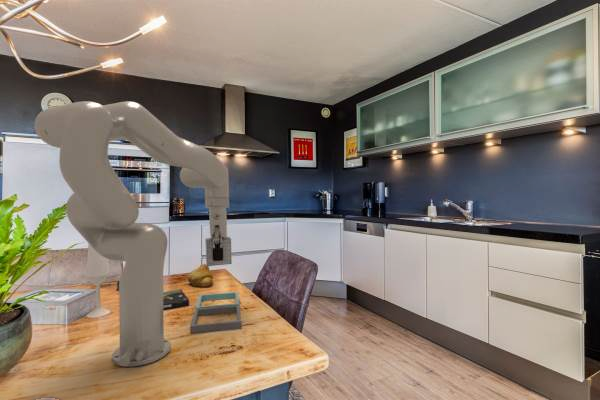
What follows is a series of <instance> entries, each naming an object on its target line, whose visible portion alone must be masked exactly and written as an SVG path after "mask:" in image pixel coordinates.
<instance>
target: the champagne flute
mask: <svg viewBox="0 0 600 400" xmlns="http://www.w3.org/2000/svg"><path fill="white" fill-rule="evenodd" d="M87 248H88V249H87V258H86V266H85V267H86V269H85V278H86V280H88V281H89V282H90V283H92V284H94V285H95V298H96V299H95V305H96V306H95V308H94V309H93V310H92V311H90V312H89V313H87V314H86V315H85V317H86V318H90V319H91V318H93V319H95V318H101V317H104V316H107V315H108V314H110V313H111V310H109V309H105V308H103V307H101V284H102V283H104V282H105V281H106V280H107V279H108V277H109V276H110V274H111V270H110V261H109V260H110V259H107V258H105V257H103V256H101V255H100V254H99V253H98V252H97V251H96V250H95V249H94V248H93V247H92V246H91V245H90V244H89V243H88V246H87Z"/></svg>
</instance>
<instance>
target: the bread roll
mask: <svg viewBox="0 0 600 400" xmlns="http://www.w3.org/2000/svg"><path fill="white" fill-rule="evenodd" d="M209 267H210V266H207V264H205V263H203V264H201V265H200V266H198V267H197V269H194V270H192V271H191V272H190V273H189V274H188V275H187V276H188V277H187V280H188V283H189V284H192V285H193V286H194V287H201V288H203V287H204V288H205V287H210V286H211V285H212V284H213V282H214V281H213V278H214V277H213V274H212V271H211V270H210V268H209Z"/></svg>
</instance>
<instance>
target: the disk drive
mask: <svg viewBox="0 0 600 400" xmlns="http://www.w3.org/2000/svg"><path fill="white" fill-rule="evenodd" d="M189 306H190V300H189V298H188V297H187V296H186V294H185V292H184V291H183V290H182V289H177V290H171V291H169V290H168V291H165V292H164V291H163V308H164V311H169V310H174V309H180V308H186V307H189Z"/></svg>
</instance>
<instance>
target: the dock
mask: <svg viewBox="0 0 600 400" xmlns="http://www.w3.org/2000/svg"><path fill="white" fill-rule="evenodd" d="M197 298H198V299H197V301H196V306H195V309H194V312H193V315H192V319H191V323H190V325H189V326H190V327H189V330H190V332H189V334H199V333H209V332H219V331H221V332H222V331H228V330H229V331H230V330H240V329H242V315H241V307H240V298H239V291H236V292H235V291H233V292H221V293H220V292H219V293H207V294H206V293H205V294H198V297H197ZM230 299H233V300H235V303H228V304H227V303H226V304H214V305H202V302H203V301H218V300H230ZM201 305H202V306H201ZM224 314H236V320H230V321H221V322H219V321H217V322H210V323H208V322H207V323H198V324H197V322H198V318H199V317H202V316H215V315H224Z"/></svg>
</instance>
